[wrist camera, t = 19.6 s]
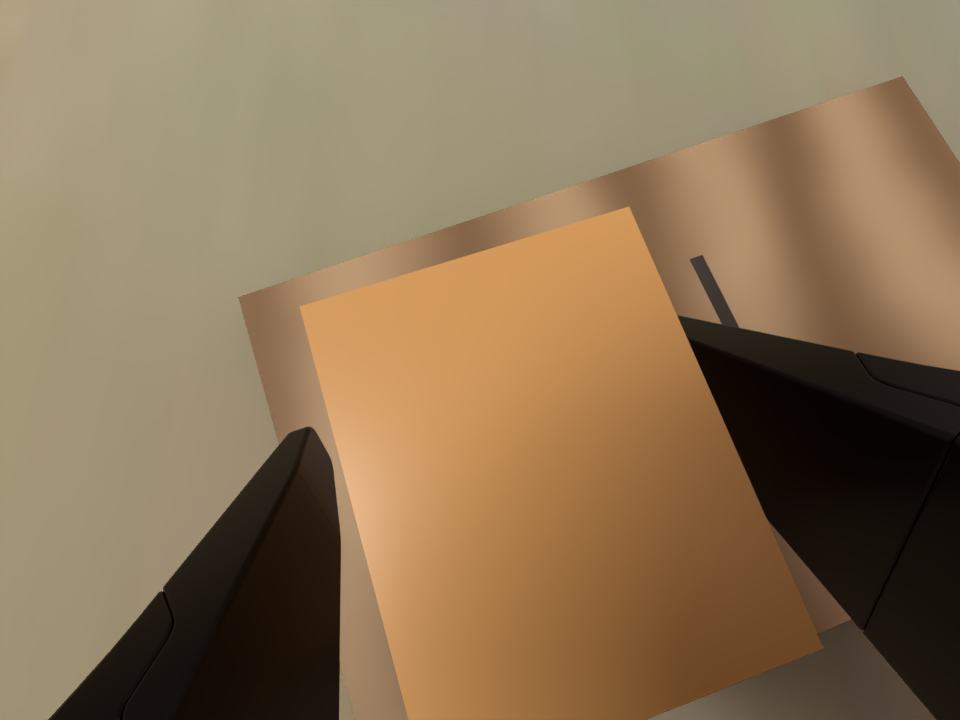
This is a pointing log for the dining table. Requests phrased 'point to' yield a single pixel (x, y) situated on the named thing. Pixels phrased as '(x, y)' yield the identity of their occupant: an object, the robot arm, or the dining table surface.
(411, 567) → the sanding block
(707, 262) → the board
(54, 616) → the dining table surface
